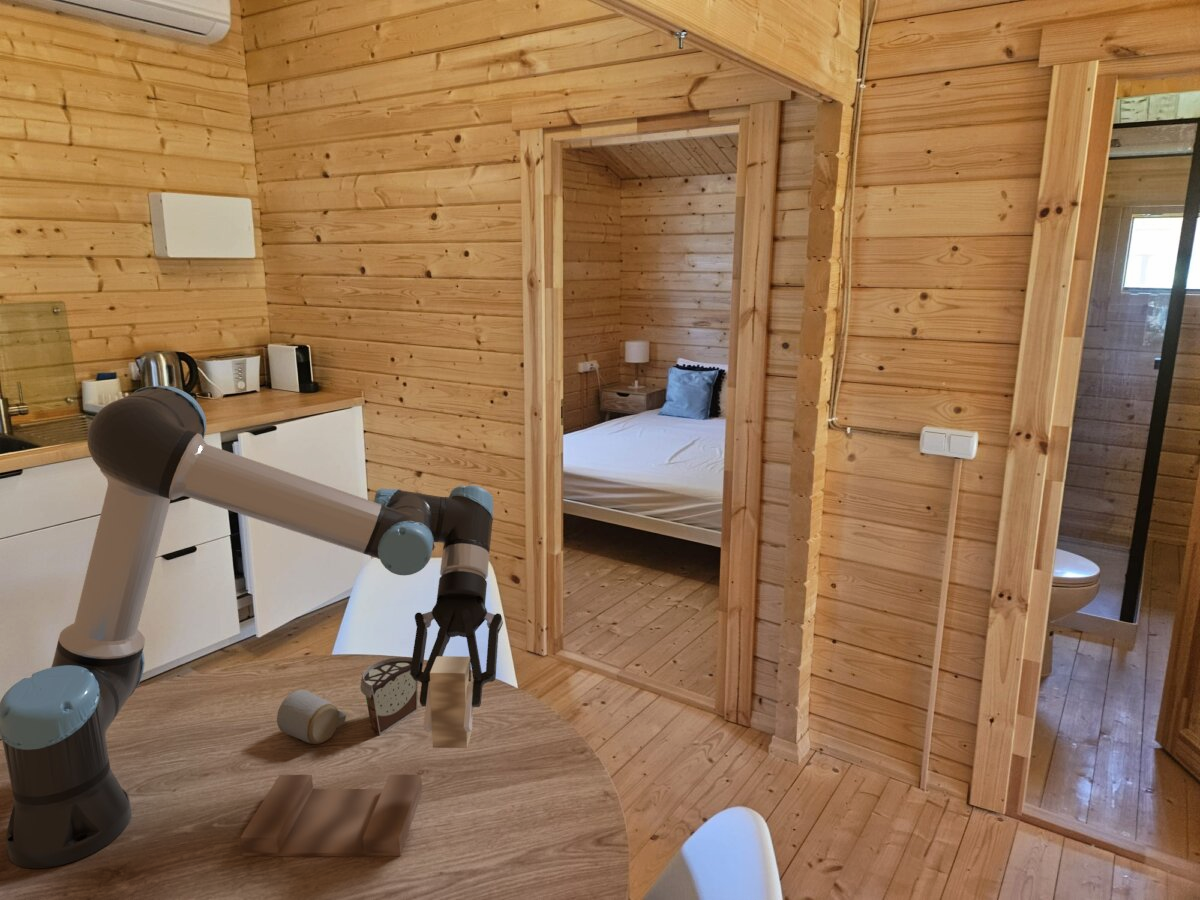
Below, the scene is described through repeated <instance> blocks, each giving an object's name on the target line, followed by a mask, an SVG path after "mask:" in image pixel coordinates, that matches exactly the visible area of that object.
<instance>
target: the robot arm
mask: <svg viewBox="0 0 1200 900" xmlns="http://www.w3.org/2000/svg"><path fill="white" fill-rule="evenodd" d="M90 422H91V423H90V425H89V427H88V430H87V437H86V439H87V441H86V442H87V447H88V448H87V449H88V452H89V454H90V456H91V459H92V460H93V462H94V464H96V466H97V467H98V468H99V470H100V473H102V475H103V476H104V477H105V479H107V481H108V484H107V489H106V492H105V496H104V498H103V499H104V500H103V505H102V508H101V511H100V512H101V513H100V517H99V520H98V523H97V524H98V526H97V528H96V532H95V537H94V540H93V545H92V547H91V548H92V549H91V553H90V557H89V561H88V566H87V569H86V574H85V578H84V582H83V586H82V590H81V594H80V599H79V602H78V607H77V610H76V615H75V619H74V623H72V624H70V625H68V626H65V628H63V629H62V630H61V632H60V633H59V636H58V641H57V643H56V648H55V652H54V657H53V661H52V664H51V667H48V668H45V669H42V670H39V671H37V672H34V673H32V675H31V677H23V678H22V679H21V680H19V681H18V682H16V683H14V684H13V685H12V686H11V687H10V688H9V689H8V690H7V691H6V692H5V693H4V695H3V696H2V698H1V699H0V738H1V740H2V742H1V743H2V746H3V751H4V755H5V761H6V765H7V766H6V767H7V771H8V772H7V773H8V775H9V781H10V786H11V791H12V796H13V803H12V807H11V811H10V816H9V821H8V826H7V828H6V829H7V830H6V835H5V845H6V849H7V855H8V858H9V860H10V861H11V862H12V863H13V864H15V865H16V866H19V867H22V868H26V869H27V868H28V869H47V868H54V867H59V866H62V865H66V864H70V863H73V862H76V861H78V860H81V859H83V858H86V857H88V856H91V855H92V854H94V853H96V852H98V851H100V850H101V849H103V848H105V847H106V846H107V845H109V844H110V843H112V842H113V841H115V839H117V838H118V837H119V836H120V835H121V834H122V833H123V832H124V830H125V829H126V828H127V826H128V825H129V823H130V821H131V818H132V808H131V801H130V797H129V795H128V793H127V792H126V791H125V789H123V788H122V786H121V784H120V782H119V781H118V779H117V777H116V775H115V774H114V773H113V771H112V768H111V764H110V759H109V752H108V745H107V744H108V743H107V739H106V738H107V737H106V734H107V731H108V729H109V728H110V726H111V724H112V723H113V722H114V720H115V718H116V717H117V715H118V714H119V712H120V711H121V710H122V708H123V707H124V705H125V704H126V702H127V700H128V699H129V698H130V697H131V696H132V695H133V693H134V692H135V691H136V689H137V688H138V686H139V685H140V682H141V680H142V678H143V675H144V669H145V662H146V661H145V654H144V652H143V650H144V647H145V644H146V643H145V642H146V641H145V640H146V639H145V636H144V635H143V633H142V632H141V631H140V630H139V629H138V628H139V625H140V620H141V616H142V612H143V610H144V604H145V600H146V597H147V593H148V588H149V585H150V581H151V577H152V573H153V570H154V565H155V562H156V559H157V554H158V550H159V546H160V542H161V537H162V534H163V531H164V528H165V527H164V526H165V523H166V518H167V515H168V510H169V506H170V504H171V503H170V502H171V501H175V500H177V499H179V498H181V497H186V498H187V497H188V498H191V499H193V500H197V501H200V502H202V503H205V504H208V505H212V506H215V507H219V508H220V509H224V510H228V511H230V512H234V513H237V514H239V515H243V516H246V517H248V518H252V519H255V520H258V521H261V522H264V523H268V524H271V525H273V526H274V525H275V526H277V527H279V528H282V529H285V530H288V531H289V530H290V531H293V532H296V533H299V534H301V535H305V536H308V537H311V538H313V539H317V540H320V541H324V542H326V543H328V544H332V545H336V546H339V547H341V548H345V549H348V550H351V551H354V552H357V553H361V554H363V555H367V556H370V557H372V558H376V559H377V560H380V563H381V564H382V565H383V567H384V568H385V569H386V570H387V571H388V572H390V573H392V574H395V575H398V576H411V575H414V574H417V573H418V572H421V570H423V569H424V568H426V566H427V565H428V563H429V562H430V560H431V557H432V552H433V549H434V543H442V544H443V547H442V555H441V563H440V569H439V574H440V577H439V578H438V579H439V580H438V587H437V596H436V602H435V604H434V606H433V607H432V610H431V611H428V612H425V613H422V612H416V613H415V614H414V621H415V625H416V630H415V631H416V632H415V637H414V644H413V651H412V663H411V670H410V674H411V676H412V677H413V679H414V680H415V681H418V683H419V682H420V683H421V685H420V694H419V704H420V705H421V707H425V710H424V719H423V728H424V730H425V732H432V712H431V689H430V671H431V669H432V667H433V664H434V662H435V659H436V657H437V656H444V653H445V651H446V648H447V645H448V644H449V642H450V639H451V638H455V637H462V638H466V644H467V649H468V654H469V656H468V657H470V662H471V675H472V679H473V681H471V682H468V687H467V697H466V707H465V717H464V729H465V731H466V732H471V729H472V730H473V716H474V708H480V706H481V704H482V699H483V698H482V695H483V686H484V685H485V684H487V683H492V682H494V681H495V680H496V677H497V665H498V664H497V663H498V662H497V660H498V659H497V658H498V646H499V645H498V643H499V633H500V630H501V628H502V627H503V625H504V624H503V623H504V620H503V617H502V615H501V614H500V613H491V612H488V610H487V607H486V599H487V598H486V597H487V587H488V586H487V585H488V581H487V578H488V574H489V562H490V550H491V549H490V548H491V542H492V541H491V539H492V531H493V524H494V523H493V521H494V499H493V496H492V494H491V493H490V492H489V491H488V490H487V489H486V488H483V487H481V486H478V485H474V484H473V485H471V484H469V485H467V486H465V485H459V486H456V487H454V488H453V489H452V490H451V491H450V493H449V495H448V496H437V495H432V494H426V493H419V492H413V491H408V490H403V489H401V488H396V489H393V488H392V489H391V488H380V489H378V490H376V491H375V494H374V499H373V501H372V500H369V499H366V498H363V497H360V496H358V495H355V494H352V493H349V492H346V491H343V490H340V489H337V488H334V487H333V486H332V487H331V486H328V485H326V484H323V483H320V482H317V481H315V480H312V479H308V478H305V477H302V476H301V475H300V476H299V475H297V474H293V473H291V472H288V471H285V470H282V469H279V468H278V467H277V468H276V467H274V466H271V465H268V464H265V463H262V462H260V461H256V460H253V459H250V458H248V457H245V456H241V455H239V454H237V453H234V452H230V451H227V450H225V449H222V448H218V447H216V446H213V445H211V444H210V445H209V444H208V443H206V441H205V437H206V431H207V418H206V415H205V412H204V410H203V408H202V407H201V405H200V403H199V402H198V401H197V400H196V399H195V398H194V397H193V396H191V394H189V393H187V392H185V391H184V390H182V389H180V388H177V387H173V386H169V385H154V386H145V387H141V388H139V389H136V390H134V392H131V393H130V394H128V395H126V396H124V397H122V398H120V399H116V400H114V401H112V402H110V403H108V404H107V405H105V406H104V407H102V408H101V409H100V410H99V411H97V413H96V414H95V415H94V416H93V419H92V421H90ZM433 620H434V621H435V622H436V625H438V627H439V629H438V631H437V633H436V634H437V636H436V638H435V642H434V644H433V647H432V648H431V652H430V655H429V656H428V659H427V662H426V664H425V667H424V659H425V652H426V646H427V637H428V628H430V627H431V625H432V621H433ZM484 621H486V625H487V628H488V634H487V635H488V637H487V652H486V668H485V671H483V672H482V667H481V661H480V660H481V659H480V655H479V649H478V644H477V643H478V642H477V636H476V631H477V630H478V629H479V627H480V626H481V625H482V624H483V623H484ZM423 667H424V669H423ZM471 733H472V732H471Z"/></svg>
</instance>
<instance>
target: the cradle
mask: <svg viewBox="0 0 1200 900" xmlns="http://www.w3.org/2000/svg"><path fill="white" fill-rule="evenodd" d="M422 782H423V780H422V774H388V776H387V779H386V781H385V783H384V785H383V788H314V783H313V774H279V775H278V777H277V778H276V780H275V781H274V783H273V785H272V786H271V788H270V789H269V791H268V793H267V794H266V795H265V798H264V799H263V800H262V802H261V803H260V805H259V807H258V809H257V810H256V812H255V814H254V815H253V816H252V818H251V820H250V821H249V823H248V825H247V826H246V828H245V830H244V831H243V832H242V834H241V835H240V846H241V853H242V857H401V856H402V853H403V849H404V846H405V843H406V841H407V839H408V838H407V837H408V835H409V832H410V830H411V826H412V822H413V820H414V816H415V814H416V811H417V808H418V806H419V802H420V800H421V796H422V793H423V783H422Z"/></svg>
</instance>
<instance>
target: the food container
mask: <svg viewBox="0 0 1200 900" xmlns="http://www.w3.org/2000/svg"><path fill="white" fill-rule="evenodd" d="M412 657H413V656H412ZM412 657H411V656H395V657H390V658H386V659H381V660H380V661H377V662H374V663H372V664H371V665H369V666H368V667H367V668H366V669H365V670H364V672H363V675H362V676H361V679H360V686H359V687H360V691H361V693H362V694H363V695H364V696H365V699H366V706H367V710H368V717H369V722H370V728H371V730H372V732H374V733H375V734H376V735H378V736H381V735H382V734H385V733H386V732H387V731H389V730H390V729H391V728H393V727H395V726H396V725H398V724H399V723H401V722H402V721H404V720H405V719H406V718H408V717H410V716H411V715H412V714H414V713H416V712H417V711H418V693H419V692H418V688H419V686H418V685H419V684H418V683H419V681H415V680H414V679H413V677H412V676H411V674H410V670H411V663H412Z"/></svg>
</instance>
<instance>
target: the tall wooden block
mask: <svg viewBox="0 0 1200 900" xmlns="http://www.w3.org/2000/svg"><path fill="white" fill-rule="evenodd" d="M468 682H472V668H471V662H470V656H451V655H448V656H445V655H443V656H437V657H436V659H435V662H434V664H433V667H432V669H431V671H430V689H431V712H432V731H431V736H432V748H435V749H437V748H438V749H439V748H440V749H441V748H442V749H445V748H446V749H447V748H448V749H467V748H468V747H469V742H470V740H471V735H472V730H473V728H472V729H471V732H466V731H465V729H464V717H465V707H466V697H467V687H468Z"/></svg>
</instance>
